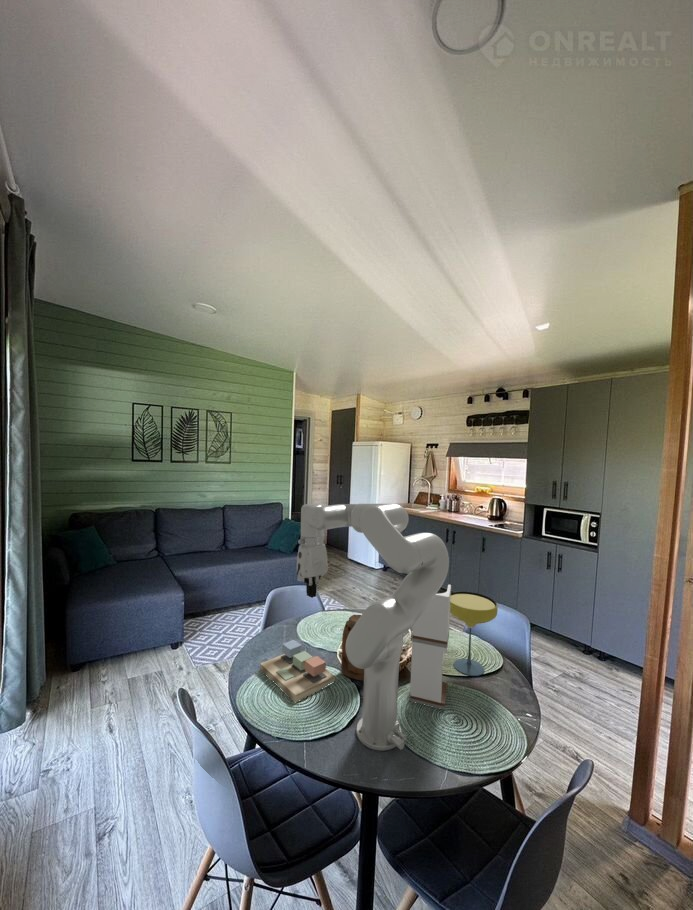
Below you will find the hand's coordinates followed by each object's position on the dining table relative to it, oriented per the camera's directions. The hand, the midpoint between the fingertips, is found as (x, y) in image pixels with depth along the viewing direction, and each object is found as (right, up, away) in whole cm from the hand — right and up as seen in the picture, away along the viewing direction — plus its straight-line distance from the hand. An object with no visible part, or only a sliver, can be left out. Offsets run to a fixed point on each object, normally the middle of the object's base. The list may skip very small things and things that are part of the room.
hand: (311, 595), depth 124 cm
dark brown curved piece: (+15, -30, +6) cm, 35 cm away
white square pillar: (+39, -31, -3) cm, 50 cm away
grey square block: (-8, -25, +11) cm, 28 cm away
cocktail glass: (+57, -32, +13) cm, 67 cm away
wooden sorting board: (-5, -29, +4) cm, 30 cm away
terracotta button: (+1, -25, 0) cm, 25 cm away
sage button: (-4, -26, +6) cm, 27 cm away
